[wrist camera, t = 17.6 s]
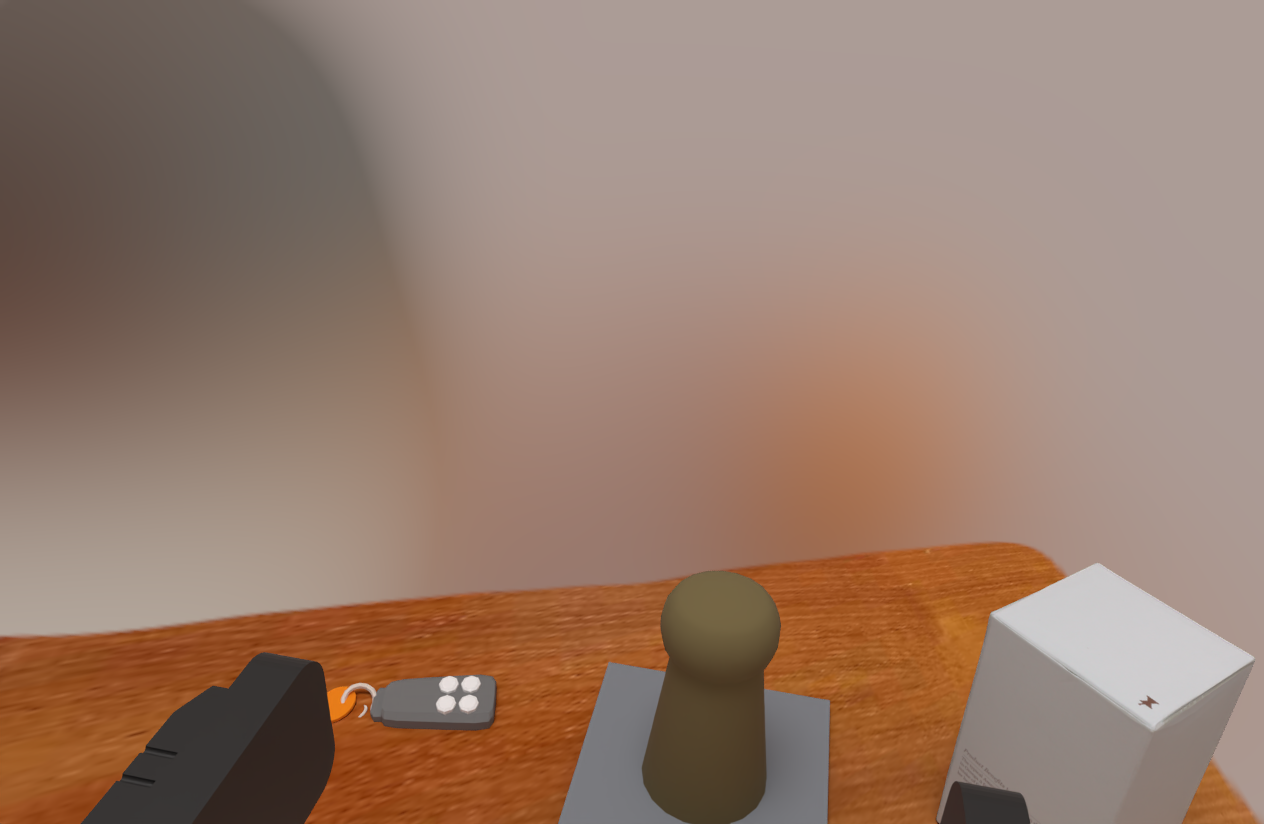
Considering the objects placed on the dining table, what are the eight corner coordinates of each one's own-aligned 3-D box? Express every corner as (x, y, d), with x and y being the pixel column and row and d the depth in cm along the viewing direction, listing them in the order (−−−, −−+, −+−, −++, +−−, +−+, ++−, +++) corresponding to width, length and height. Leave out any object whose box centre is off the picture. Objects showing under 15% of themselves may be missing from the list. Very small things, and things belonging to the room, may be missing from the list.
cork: (763, 729, 48) (789, 556, 43) (770, 831, 43) (801, 648, 38) (644, 720, 48) (656, 546, 43) (637, 821, 43) (649, 637, 38)
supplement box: (1166, 870, 43) (1267, 660, 37) (1061, 949, 39) (1154, 732, 33) (1031, 756, 48) (1099, 556, 42) (928, 817, 45) (986, 609, 39)
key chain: (498, 684, 52) (497, 664, 51) (493, 737, 48) (492, 716, 48) (254, 688, 51) (250, 667, 50) (233, 742, 47) (228, 721, 47)
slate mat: (549, 859, 42) (549, 850, 42) (608, 670, 52) (609, 662, 52) (823, 916, 40) (825, 907, 40) (828, 708, 50) (830, 700, 50)
